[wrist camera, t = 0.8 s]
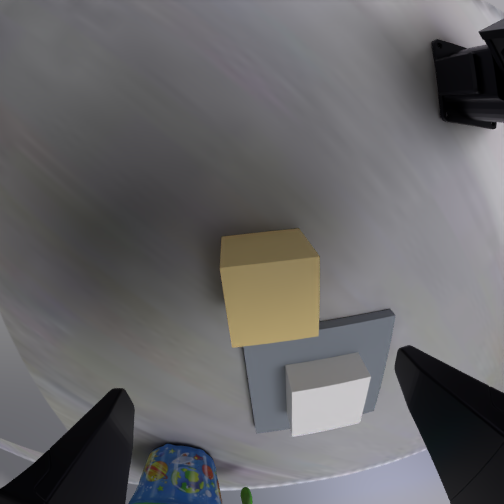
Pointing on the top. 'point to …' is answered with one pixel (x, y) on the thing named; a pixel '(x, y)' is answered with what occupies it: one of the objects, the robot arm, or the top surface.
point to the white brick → (326, 393)
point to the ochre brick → (270, 287)
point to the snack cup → (180, 478)
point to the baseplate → (310, 349)
